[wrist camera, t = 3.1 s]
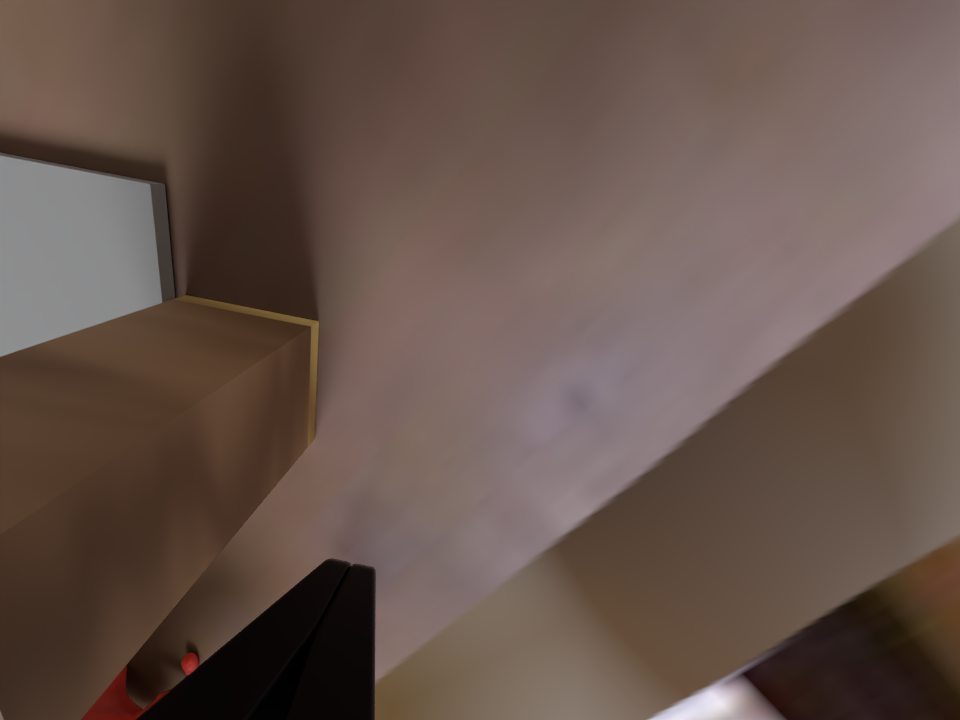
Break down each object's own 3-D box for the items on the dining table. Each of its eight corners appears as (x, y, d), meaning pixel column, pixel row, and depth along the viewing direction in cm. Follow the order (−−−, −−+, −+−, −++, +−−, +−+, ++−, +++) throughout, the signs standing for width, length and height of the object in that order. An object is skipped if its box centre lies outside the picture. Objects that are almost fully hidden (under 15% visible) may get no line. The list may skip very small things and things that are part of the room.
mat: (192, 486, 16) (182, 495, 15) (-78, 429, 16) (-96, 437, 16) (164, 184, 12) (150, 184, 12) (-189, 116, 12) (-217, 114, 12)
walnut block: (314, 438, 15) (27, 783, 6) (195, 413, 15) (-243, 719, 6) (319, 321, 13) (-53, 571, 5) (185, 295, 13) (-407, 492, 5)
